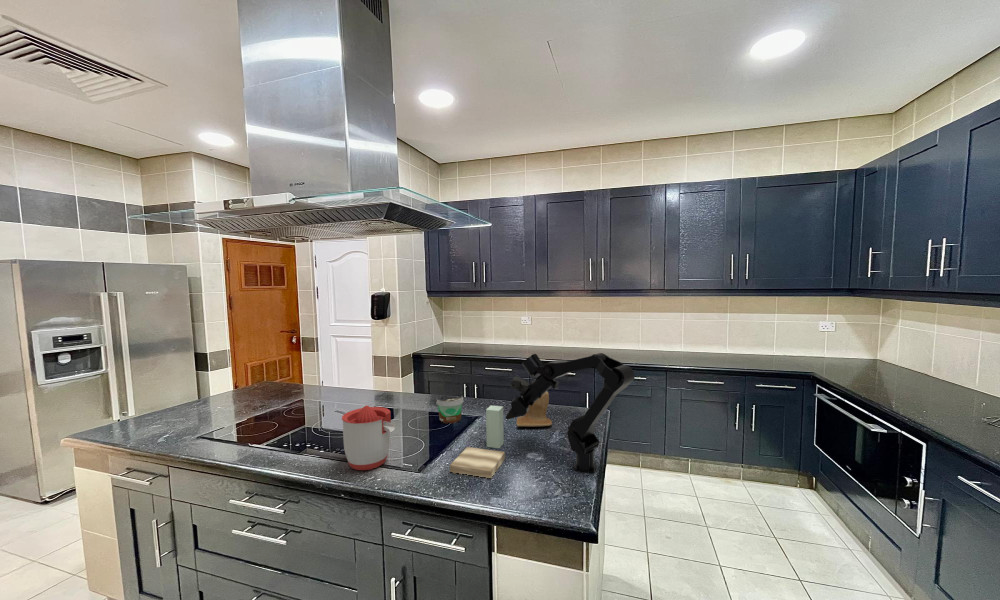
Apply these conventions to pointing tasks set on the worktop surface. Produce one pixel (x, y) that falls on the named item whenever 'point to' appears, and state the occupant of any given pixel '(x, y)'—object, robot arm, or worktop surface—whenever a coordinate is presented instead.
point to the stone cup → (536, 413)
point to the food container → (450, 410)
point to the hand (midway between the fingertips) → (509, 414)
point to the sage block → (494, 426)
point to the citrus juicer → (367, 436)
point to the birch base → (478, 462)
